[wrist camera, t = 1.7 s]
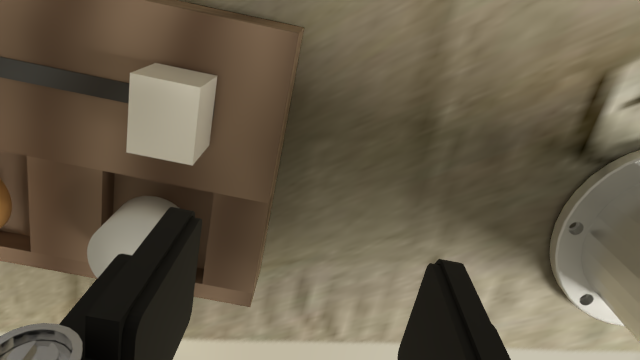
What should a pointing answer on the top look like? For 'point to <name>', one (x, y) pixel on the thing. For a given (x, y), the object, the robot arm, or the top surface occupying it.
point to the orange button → (4, 204)
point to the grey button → (125, 230)
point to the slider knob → (170, 113)
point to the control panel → (112, 121)
